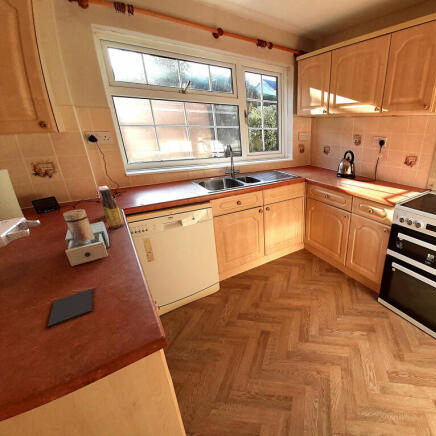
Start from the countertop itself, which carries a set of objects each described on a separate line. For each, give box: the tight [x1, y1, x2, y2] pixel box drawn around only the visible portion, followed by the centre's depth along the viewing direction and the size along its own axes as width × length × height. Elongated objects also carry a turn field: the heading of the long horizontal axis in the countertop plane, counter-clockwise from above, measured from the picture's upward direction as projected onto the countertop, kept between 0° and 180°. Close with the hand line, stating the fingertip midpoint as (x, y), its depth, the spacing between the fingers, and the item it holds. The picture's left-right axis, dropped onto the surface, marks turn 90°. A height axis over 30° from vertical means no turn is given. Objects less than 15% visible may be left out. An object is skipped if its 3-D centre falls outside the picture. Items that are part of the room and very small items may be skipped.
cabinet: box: [64, 220, 110, 249], centre depth 103 cm, size 13×12×8 cm
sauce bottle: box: [100, 187, 124, 230], centre depth 120 cm, size 6×6×20 cm
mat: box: [47, 288, 93, 328], centre depth 70 cm, size 9×12×1 cm
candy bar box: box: [96, 185, 109, 202], centre depth 136 cm, size 11×5×16 cm, turn 38°
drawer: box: [65, 233, 109, 267], centre depth 95 cm, size 14×11×6 cm
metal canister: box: [62, 208, 97, 247], centre depth 93 cm, size 6×6×17 cm
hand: (34, 227), depth 86 cm, fingers open, 8 cm apart
